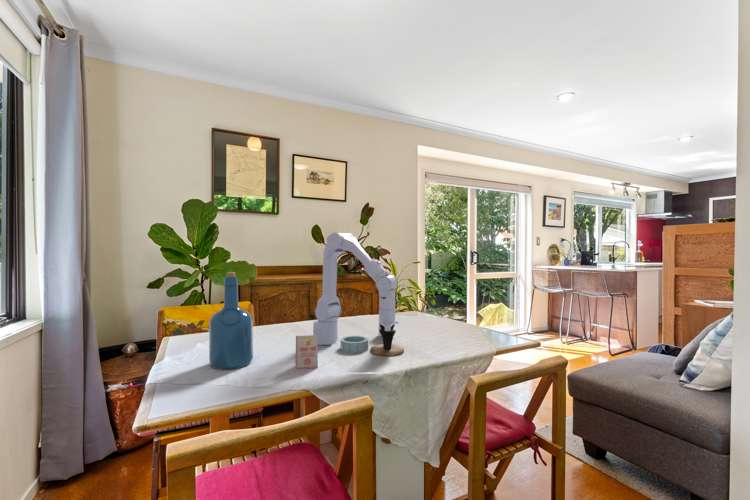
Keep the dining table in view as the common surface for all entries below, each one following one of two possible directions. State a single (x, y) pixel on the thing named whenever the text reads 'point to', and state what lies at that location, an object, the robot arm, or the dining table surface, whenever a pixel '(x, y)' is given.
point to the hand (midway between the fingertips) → (387, 346)
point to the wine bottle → (230, 331)
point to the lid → (382, 352)
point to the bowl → (354, 344)
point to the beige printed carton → (306, 352)
